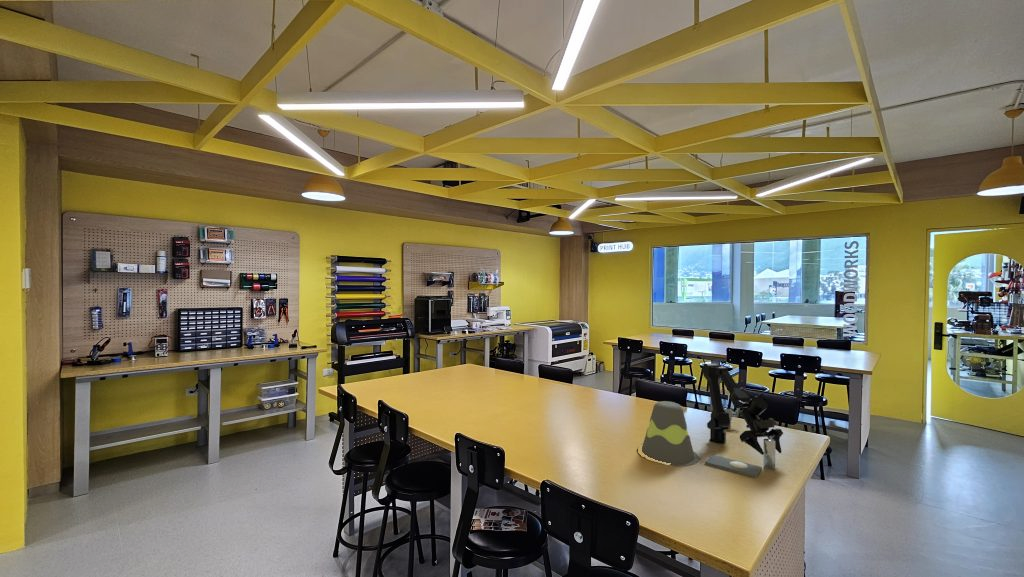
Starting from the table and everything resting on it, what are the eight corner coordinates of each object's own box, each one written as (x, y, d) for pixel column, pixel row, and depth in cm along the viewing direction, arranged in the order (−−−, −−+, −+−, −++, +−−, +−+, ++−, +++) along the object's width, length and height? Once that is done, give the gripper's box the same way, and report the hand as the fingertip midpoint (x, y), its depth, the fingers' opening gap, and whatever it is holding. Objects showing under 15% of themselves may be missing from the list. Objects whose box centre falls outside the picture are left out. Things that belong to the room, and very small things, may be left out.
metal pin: (762, 467, 184) (762, 440, 185) (764, 464, 188) (764, 437, 188) (774, 470, 182) (774, 442, 182) (776, 467, 185) (776, 440, 185)
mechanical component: (739, 428, 237) (739, 410, 237) (720, 427, 239) (720, 409, 239) (738, 427, 240) (738, 409, 240) (718, 425, 242) (718, 408, 242)
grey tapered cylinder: (708, 453, 201) (708, 403, 201) (685, 472, 180) (686, 415, 180) (652, 439, 219) (652, 393, 220) (626, 454, 199) (626, 403, 199)
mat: (704, 464, 188) (704, 461, 188) (712, 457, 196) (712, 454, 196) (755, 477, 174) (755, 474, 175) (761, 469, 183) (761, 466, 183)
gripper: (744, 412, 187) (763, 446, 176) (780, 410, 191) (801, 443, 180) (731, 425, 194) (749, 458, 184) (766, 422, 198) (785, 455, 187)
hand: (771, 453), depth 183 cm, fingers open, 9 cm apart
